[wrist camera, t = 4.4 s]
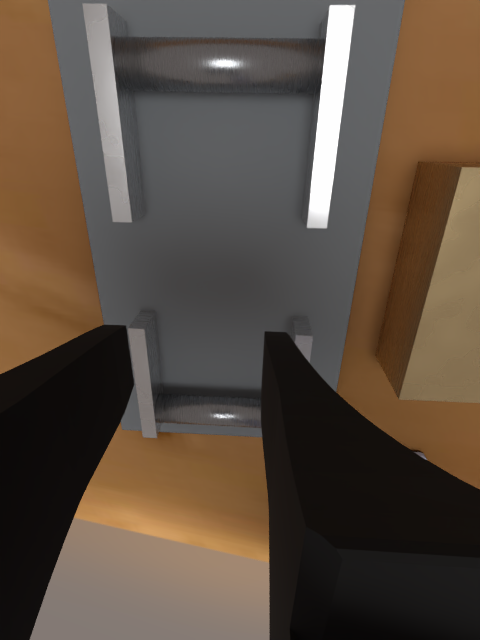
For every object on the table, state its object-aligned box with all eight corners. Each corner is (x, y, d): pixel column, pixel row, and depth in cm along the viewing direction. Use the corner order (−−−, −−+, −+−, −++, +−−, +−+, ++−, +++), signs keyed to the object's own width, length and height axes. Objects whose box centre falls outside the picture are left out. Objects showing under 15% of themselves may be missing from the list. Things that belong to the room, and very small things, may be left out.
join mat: (326, 433, 23) (327, 440, 22) (125, 423, 23) (122, 429, 23) (404, -24, 13) (410, -31, 12) (51, -25, 13) (42, -32, 13)
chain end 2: (295, 420, 22) (299, 445, 20) (152, 413, 22) (143, 437, 20) (308, 317, 18) (313, 336, 17) (140, 310, 19) (127, 328, 17)
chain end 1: (319, 218, 16) (326, 228, 14) (128, 213, 17) (112, 221, 15) (342, 23, 13) (355, 4, 11) (105, 21, 13) (82, 3, 12)
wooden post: (446, 356, 20) (486, 403, 16) (374, 353, 20) (398, 399, 17) (509, 163, 16) (583, 169, 12) (416, 161, 16) (461, 167, 12)
